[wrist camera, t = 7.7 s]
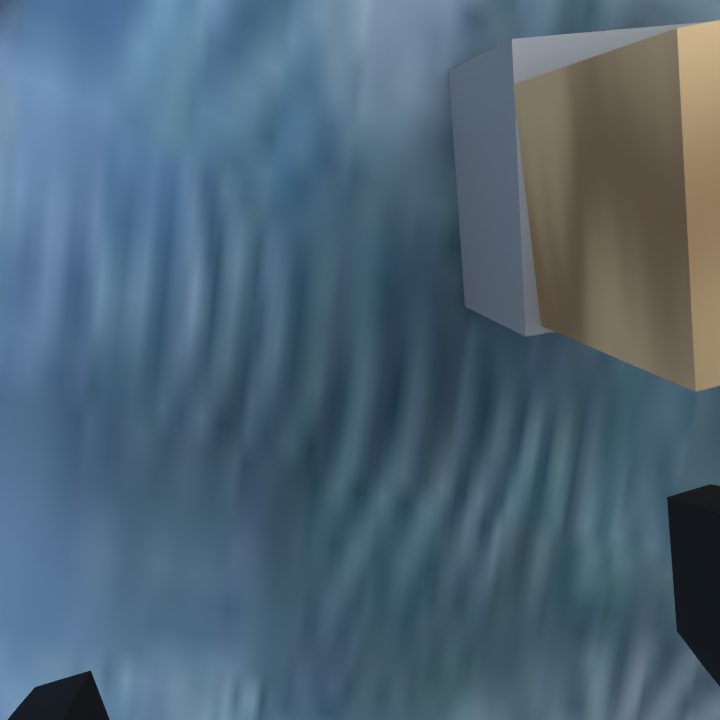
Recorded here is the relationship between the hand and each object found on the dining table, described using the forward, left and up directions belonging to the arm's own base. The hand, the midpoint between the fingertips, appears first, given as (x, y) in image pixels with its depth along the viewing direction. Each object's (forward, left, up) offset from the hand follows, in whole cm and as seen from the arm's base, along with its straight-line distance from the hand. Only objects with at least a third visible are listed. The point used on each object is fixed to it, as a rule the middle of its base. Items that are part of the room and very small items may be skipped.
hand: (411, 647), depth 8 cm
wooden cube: (+4, -8, -7) cm, 11 cm away
